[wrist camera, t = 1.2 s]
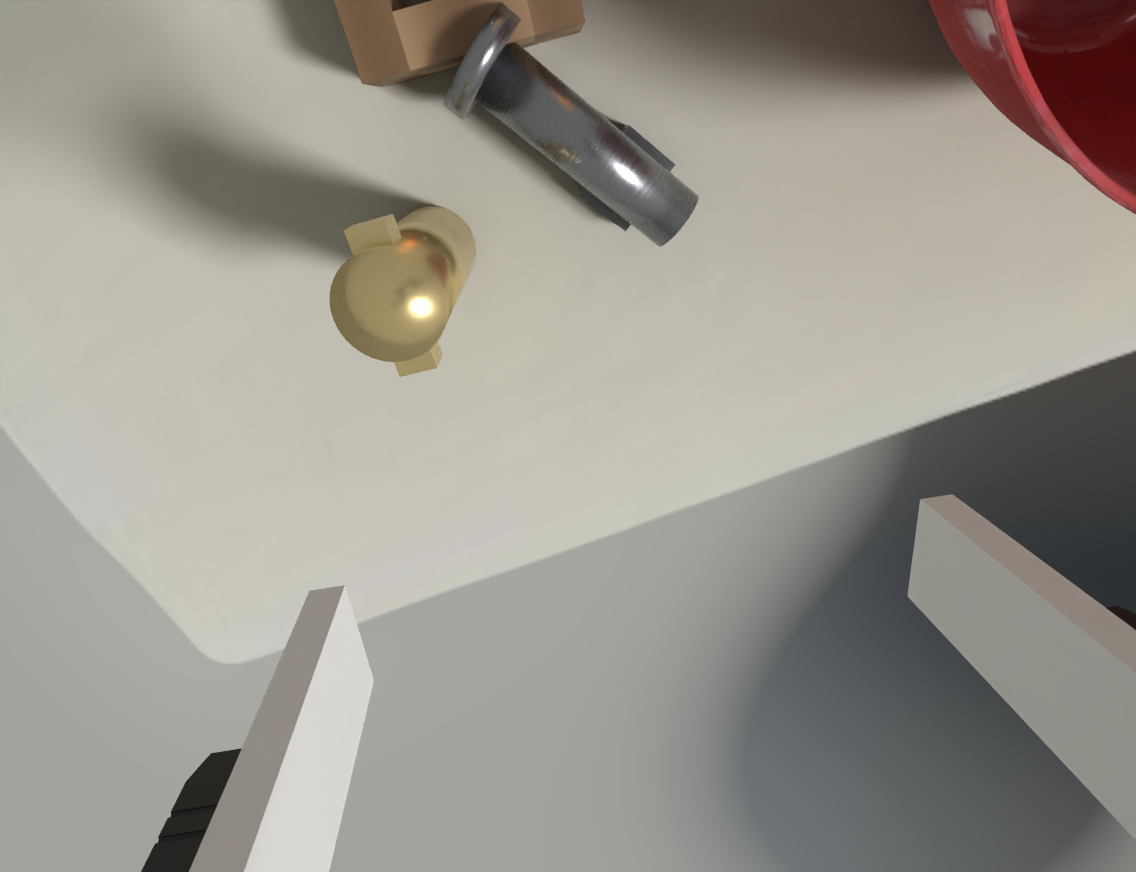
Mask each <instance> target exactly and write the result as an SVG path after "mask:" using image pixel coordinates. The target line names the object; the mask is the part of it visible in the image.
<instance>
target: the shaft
mask: <svg viewBox="0 0 1136 872" xmlns="http://www.w3.org/2000/svg"><path fill="white" fill-rule="evenodd" d="M520 20H521V18H519V17H518V16H517V15H516V14H515V13H514V12H512V11H511V10H510V9H509V8H508V7H507V6H505V5H504V4H503V3H502V2H501V3H500V4H499V5H498V7H497V8H496V9H495V10H494V11H493V13H492V14H491V16H490V17H489V18H488V20H487V21H486V23H485V24H484V26H483V27H482V29H481V30H480V32H479V33H478V35H477V37H476V38H475V40H474V41H473V43H472V45H471V46H470V48H469V50H468V52H467V53H466V55H465V57H464V59H463V61H462V62H461V64H460V66H459V68H458V70H457V72H456V74H455V76H454V78H453V80H452V82H451V84H450V86H449V89H448V91H447V93H446V96H445V99H444V106H446V107H447V108H448V109H449V110H451V111H452V112H453V113H455V114H456V115H457V116H458V117H460V118H461V119H462V120H464V119H465V118H466V117H467V116H468V115H469V114H470V113H471V111H472V110H473V109H474V107H475V106H476V104H477V103H479V104H480V105H481V106H482V107H484V108H485V109H486V110H487V111H489V112H490V113H491V114H493V115H494V116H495V117H496V118H498V119H499V120H500V121H501V122H503V123H504V124H505V125H506V126H508V127H509V128H510V129H511V130H513V131H514V132H515V133H516V134H518V135H519V136H520V137H522V138H523V139H524V140H525V141H527V142H528V143H529V144H530V145H532V146H533V147H534V148H535V149H537V150H538V151H539V152H540V153H542V154H543V155H544V156H546V157H547V158H548V159H549V160H551V161H552V162H553V163H554V164H556V165H557V166H558V167H559V168H561V169H562V170H563V171H564V172H566V173H567V174H568V175H569V176H571V177H572V178H573V179H575V180H576V181H577V182H578V183H580V184H581V185H582V188H581V189H580V190H579V194H580V196H582V197H583V198H584V199H585V200H587V201H588V202H589V203H590V204H592V205H593V206H594V207H596V208H597V209H598V210H599V211H601V212H602V213H603V214H604V215H606V216H607V217H608V218H610V219H611V220H612V221H613V222H615V223H616V224H617V225H618V226H620V227H621V228H622V229H624V230H625V231H626V230H627V228H628V227H629V226H630V224H631V225H633V226H634V227H635V228H636V229H638V230H639V231H640V232H641V233H643V234H644V235H645V236H646V237H648V238H649V239H650V240H651V241H653V242H654V243H655V244H656V245H658V246H662V245H664V244H666V243H667V242H668V241H669V240H671V239H672V238H673V237H674V236H675V235H676V233H677V232H678V231H679V230H680V229H681V228H682V226H683V225H684V224H685V222H686V221H687V220H688V218H689V217H690V215H691V214H692V212H693V210H694V208H695V206H696V204H697V201H698V195H696V194H695V193H694V192H693V191H692V190H690V189H689V188H688V187H687V186H686V185H685V184H683V183H682V182H681V181H680V180H679V179H677V178H676V177H675V176H674V175H673V174H671V173H670V171H671V169H672V168H673V167H674V165H675V164H674V163H673V162H672V161H670V160H669V159H668V158H667V157H666V156H664V155H663V154H662V153H661V152H660V151H659V150H657V149H656V148H655V147H654V146H653V145H652V144H650V143H649V142H648V141H647V140H646V139H644V138H643V137H642V136H641V135H640V134H639V133H637V132H636V131H635V130H634V129H633V128H632V127H630V126H629V125H625V126H624V127H623V129H622V130H621V131H620V130H619V129H618V128H617V127H616V126H615V125H613V124H612V123H611V122H610V121H609V120H607V119H606V118H605V117H604V116H603V115H601V114H600V113H599V112H598V111H597V110H596V109H594V108H593V107H592V106H591V105H590V104H588V103H587V102H586V101H585V100H584V99H582V98H581V97H580V96H579V95H578V94H577V93H575V92H574V91H573V90H572V89H571V88H569V87H568V86H567V85H566V84H565V83H563V82H562V81H561V80H560V79H559V78H558V77H556V76H555V75H554V74H553V73H552V72H550V71H549V70H548V69H547V68H546V67H544V66H543V65H542V64H541V63H540V62H539V61H537V60H536V59H535V58H534V57H533V56H531V55H530V54H529V53H528V52H527V51H525V50H524V49H523V48H522V47H521V46H520V45H518V44H517V43H507V42H508V40H509V39H510V37H511V35H512V34H513V32H514V30H515V29H516V27H517V25H518V24H519V22H520Z"/></svg>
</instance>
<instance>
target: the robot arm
mask: <svg viewBox="0 0 1136 872" xmlns="http://www.w3.org/2000/svg"><path fill="white" fill-rule="evenodd" d="M908 597H909V598H910V599H911V600H912V601H913V603H914V604H915V605H916V606H917V607H918V608H919V609H920V610H921V611H922V612H923V613H924V614H925V615H926V616H927V617H928V618H929V620H930V621H931V622H932V623H933V624H934V625H935V626H936V627H937V628H938V629H939V630H940V631H941V632H942V634H943V635H944V636H945V637H946V638H947V639H948V640H949V641H950V642H951V643H952V644H953V645H954V646H955V647H956V648H957V650H958V651H959V652H960V653H961V654H962V655H963V656H964V657H965V658H966V659H967V660H968V661H969V662H970V663H971V664H972V666H973V667H974V668H975V669H976V670H977V671H978V672H979V673H980V674H981V675H982V676H983V677H984V678H985V679H986V680H987V682H988V683H989V684H990V685H991V686H992V687H993V688H994V689H995V690H996V691H997V692H998V693H999V694H1000V695H1001V696H1002V698H1003V699H1004V700H1005V701H1006V702H1007V703H1008V704H1009V705H1010V706H1011V707H1012V708H1013V709H1014V710H1015V712H1016V713H1017V714H1018V715H1019V716H1020V717H1021V718H1022V719H1023V720H1024V721H1025V722H1026V723H1027V724H1028V725H1029V726H1030V728H1031V729H1032V730H1033V731H1034V732H1035V733H1036V734H1037V735H1038V736H1039V737H1040V738H1041V739H1042V740H1043V741H1044V742H1045V744H1046V745H1047V746H1048V747H1049V748H1050V749H1051V750H1052V751H1053V752H1054V753H1055V754H1056V755H1057V756H1058V757H1059V759H1060V760H1061V761H1062V762H1063V763H1064V764H1065V765H1066V766H1067V767H1068V768H1069V769H1070V770H1071V771H1072V772H1073V773H1074V774H1075V776H1076V777H1077V778H1078V779H1079V780H1080V781H1081V782H1082V783H1083V784H1084V785H1085V786H1086V787H1087V788H1088V789H1089V790H1090V792H1091V793H1092V794H1093V795H1094V796H1095V797H1096V798H1097V799H1098V800H1099V801H1100V802H1101V803H1102V804H1103V805H1104V807H1105V808H1106V809H1107V810H1108V811H1109V812H1110V813H1111V814H1112V815H1113V816H1114V817H1115V818H1116V819H1117V820H1118V821H1119V823H1121V825H1122V826H1123V827H1124V828H1125V829H1126V830H1127V831H1128V832H1129V833H1130V834H1131V835H1132V837H1134V839H1135V840H1136V614H1135V613H1133V612H1131V611H1128V610H1126V609H1124V608H1122V607H1120V606H1113V607H1107V608H1105V607H1104V606H1102V605H1101V604H1100V603H1098V602H1097V601H1095V600H1094V599H1093V598H1092V597H1090V596H1089V595H1087V594H1086V593H1085V592H1083V591H1082V590H1081V589H1079V588H1078V587H1077V586H1075V585H1074V584H1073V583H1071V582H1070V581H1069V580H1067V579H1066V578H1065V577H1063V576H1062V575H1060V574H1059V573H1058V572H1056V571H1055V570H1054V569H1052V568H1051V567H1050V566H1048V565H1047V564H1046V563H1044V562H1043V561H1041V560H1040V559H1039V558H1037V557H1036V556H1035V555H1033V554H1032V553H1031V552H1029V551H1028V550H1027V549H1025V548H1024V547H1023V546H1021V545H1020V544H1018V543H1017V542H1016V541H1015V540H1013V539H1012V538H1010V537H1009V536H1008V535H1006V534H1005V533H1004V532H1002V531H1001V530H1000V529H998V528H997V527H996V526H994V525H993V524H991V523H990V522H989V521H988V520H986V519H985V518H983V517H982V516H981V515H979V514H978V513H977V512H975V511H974V510H972V509H971V508H970V507H969V506H967V505H966V504H965V503H963V502H962V501H960V500H959V499H958V498H956V497H955V496H954V495H946V496H939V497H933V498H926V499H920V506H919V514H918V522H917V529H916V536H915V544H914V551H913V559H912V567H911V574H910V582H909V590H908ZM373 682H374V679H373V676H372V673H371V669H370V666H369V663H368V660H367V656H366V653H365V650H364V646H363V643H362V640H361V637H360V633H359V630H358V627H357V623H356V620H355V617H354V614H353V610H352V607H351V604H350V600H349V597H348V594H347V591H346V587H345V586H338V587H332V588H325V589H318V590H312V591H309V594H308V596H307V598H306V601H305V603H304V605H303V608H302V610H301V612H300V615H299V617H298V619H297V622H296V624H295V626H294V628H293V631H292V633H291V635H290V638H289V640H288V642H287V645H286V647H285V649H284V652H283V654H282V656H281V659H280V661H279V663H278V666H277V668H276V671H275V673H274V675H273V678H272V680H271V682H270V684H269V687H268V689H267V691H266V694H265V696H264V698H263V701H262V703H261V705H260V708H259V710H258V712H257V715H256V717H255V719H254V722H253V724H252V726H251V728H250V731H249V733H248V735H247V738H246V740H245V743H244V745H243V747H242V749H236V750H230V751H223V752H217V753H211V754H210V755H209V757H207V758H206V760H205V761H204V762H203V763H202V764H201V765H200V767H198V769H197V770H196V771H195V772H194V773H193V774H192V776H190V778H189V779H188V780H187V781H186V783H185V785H184V787H183V789H182V791H181V793H180V795H179V797H178V799H177V801H176V803H175V805H174V807H173V809H172V811H171V817H170V818H168V819H167V821H166V823H165V825H164V827H163V829H162V831H161V833H160V835H159V841H158V843H156V844H155V845H154V847H153V849H152V851H151V853H150V855H149V857H148V859H147V861H146V863H145V865H144V867H143V869H142V871H141V872H329V870H330V865H331V860H332V857H333V852H334V848H335V844H336V840H337V835H338V831H339V827H340V822H341V818H342V814H343V809H344V805H345V801H346V797H347V792H348V788H349V784H350V780H351V776H352V771H353V767H354V763H355V758H356V754H357V750H358V745H359V741H360V737H361V733H362V729H363V724H364V720H365V716H366V711H367V707H368V703H369V699H370V694H371V690H372V685H373Z"/></svg>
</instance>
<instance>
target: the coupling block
mask: <svg viewBox="0 0 1136 872" xmlns="http://www.w3.org/2000/svg"><path fill="white" fill-rule="evenodd" d="M334 2H335V5H336V8H337V11H338V14H339V17H340V20H341V23H342V26H343V29H344V32H345V35H346V37H347V40H348V43H349V46H350V49H351V52H352V55H353V58H354V61H355V64H356V67H357V70H358V73H359V76H360V79H361V82H362V84H367V85H373V86H379V87H384V86H388V85H392V84H395V83H399V82H402V81H406V80H410V79H413V78H417V77H420V76H424V75H428V74H431V73H435V72H438V71H442V70H445V69H449V68H453V67H456V66H460V64H461V62H462V61H463V59H464V57H465V55H466V53H467V52H468V50H469V48H470V46H471V45H472V43H473V41H474V40H475V38H476V37H477V35H478V33H479V32H480V30H481V29H482V27H483V26H484V24H485V23H486V21H487V20H488V18H489V17H490V16H491V14H492V13H493V11H494V10H495V9H496V8H497V7H498V5H499V4H500V3H501V2H502V3H503V4H504V5H505V6H507V7H508V8H509V9H510V10H511V11H512V12H514V13H515V14H516V15H517V16H518V17H519V18H521V20H520V22H519V24H518V25H517V27H516V29H515V30H514V32H513V34H512V35H511V37H510V39H509V40H508V42H507V43H517V44H518V45H520V46H521V47H522V48H524V47H528V46H532V45H535V44H539V43H542V42H546V41H550V40H553V39H557V38H560V37H564V36H568V35H571V34H575V33H578V32H580V31H581V29H582V26H583V24H584V22H585V20H584V15H583V10H582V4H581V0H431V1H428V2H424V3H421V4H417V5H414V6H410V7H407V8H405V6H404V3H403V0H334Z"/></svg>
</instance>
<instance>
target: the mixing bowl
mask: <svg viewBox="0 0 1136 872" xmlns="http://www.w3.org/2000/svg"><path fill="white" fill-rule="evenodd" d="M928 1H929V3H930V6H931V8H932V10H933V13H934V15H935V17H936V20H937V22H938V24H939V27H940V29H941V31H942V34H943V36H944V38H945V40H946V42H947V43H948V45H949V47H950V49H951V50H952V52H953V53H954V55H955V57H956V58H957V60H958V61H959V62H960V64H961V65H962V66H963V68H964V69H965V70H966V72H967V73H968V74H969V76H970V77H971V78H972V80H973V81H974V82H975V84H976V85H977V86H978V87H979V88H980V89H981V91H982V92H983V93H984V94H985V95H986V96H987V98H988V99H989V100H990V101H991V102H992V103H993V105H994V106H995V107H996V108H997V109H998V110H999V111H1001V112H1002V113H1003V114H1004V115H1005V116H1006V117H1007V118H1008V119H1009V120H1010V121H1011V122H1012V123H1014V124H1015V125H1016V126H1017V127H1019V128H1020V129H1021V130H1022V131H1023V132H1025V133H1026V134H1027V135H1029V136H1030V137H1031V138H1033V139H1034V140H1035V141H1037V142H1038V143H1040V144H1041V145H1042V146H1044V147H1045V148H1047V149H1048V150H1050V151H1051V152H1052V153H1054V154H1055V155H1057V156H1058V157H1060V158H1061V159H1062V160H1064V161H1065V162H1067V163H1068V164H1070V165H1071V166H1072V167H1073V168H1074V169H1075V170H1076V171H1077V172H1078V173H1079V174H1081V175H1082V176H1083V177H1084V178H1085V179H1086V180H1087V181H1088V182H1089V183H1091V184H1092V185H1093V186H1094V187H1096V188H1097V189H1098V190H1099V191H1101V192H1102V193H1103V194H1105V195H1106V196H1107V197H1109V198H1110V199H1112V200H1113V201H1115V202H1116V203H1118V204H1119V205H1121V206H1123V207H1124V208H1126V209H1128V210H1129V211H1131V212H1133V213H1134V214H1136V0H928Z"/></svg>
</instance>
